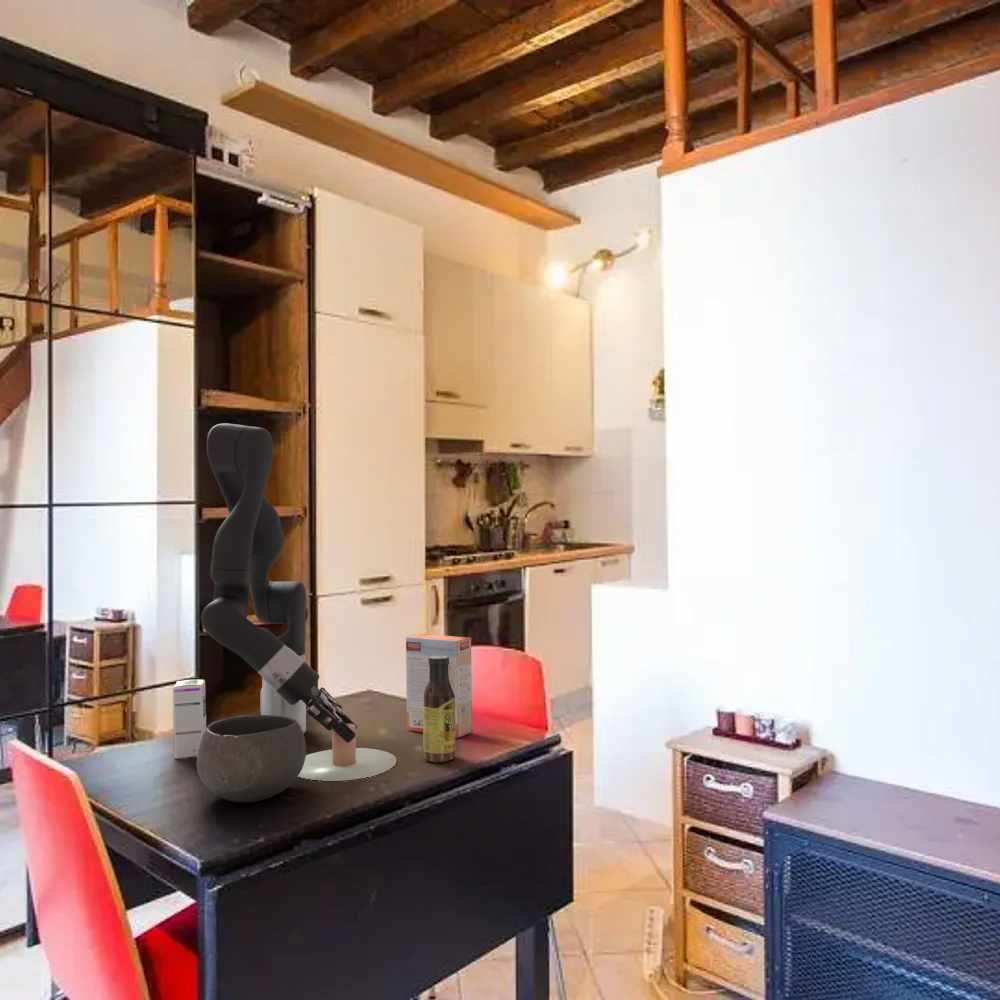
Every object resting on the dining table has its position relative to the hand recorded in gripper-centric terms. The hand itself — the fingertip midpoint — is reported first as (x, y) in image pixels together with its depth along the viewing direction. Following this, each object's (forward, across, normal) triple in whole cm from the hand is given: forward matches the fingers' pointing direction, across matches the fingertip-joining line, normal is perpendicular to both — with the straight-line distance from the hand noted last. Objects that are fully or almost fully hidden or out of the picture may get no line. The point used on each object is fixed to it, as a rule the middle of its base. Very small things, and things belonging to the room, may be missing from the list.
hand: (352, 734), depth 161 cm
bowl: (-7, -16, +16) cm, 23 cm away
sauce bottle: (+16, 0, -8) cm, 18 cm away
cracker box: (+17, +20, -8) cm, 27 cm away
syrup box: (-19, +12, +28) cm, 36 cm away
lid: (+3, 0, +6) cm, 7 cm away
